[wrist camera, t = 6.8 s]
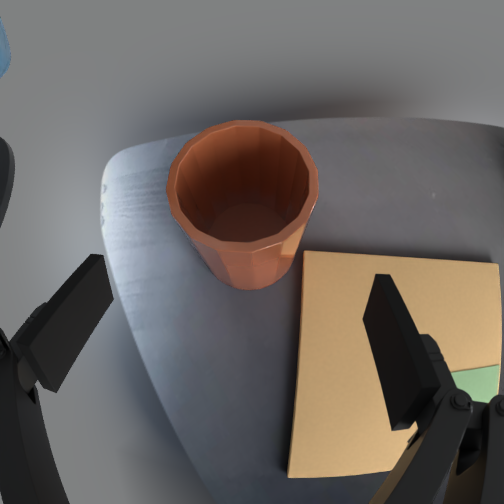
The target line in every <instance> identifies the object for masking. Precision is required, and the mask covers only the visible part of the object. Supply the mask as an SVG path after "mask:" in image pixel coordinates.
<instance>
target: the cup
mask: <svg viewBox="0 0 504 504" xmlns="http://www.w3.org/2000/svg"><path fill="white" fill-rule="evenodd" d="M166 193H167V197H168V202H169V206H170V210H171V214H172V216H173V218H174V219H175V221H176V222H177V223H178V225H179V226H180V228H181V229H182V231H183V232H184V234H185V235H186V237H187V238H188V240H189V241H190V243H191V244H192V246H193V247H194V248H195V250H196V251H197V253H198V254H199V256H200V257H201V259H202V260H203V261H204V263H205V264H206V266H207V267H208V268H209V269H210V270H211V272H212V273H213V274H214V275H215V276H216V278H217V279H219V280H220V281H222V282H223V283H225V284H227V285H229V286H231V287H234V288H237V289H243V290H255V289H260V288H264V287H267V286H269V285H271V284H273V283H275V282H276V281H278V280H279V279H280V278H281V277H282V276H283V275H284V274H285V273H286V272H287V271H288V270H289V268H290V266H291V264H292V262H293V260H294V257H295V255H296V253H297V251H298V248H299V246H300V243H301V241H302V238H303V235H304V233H305V230H306V228H307V225H308V223H309V220H310V217H311V215H312V212H313V210H314V207H315V204H316V202H317V199H318V170H317V168H316V166H315V164H314V162H313V160H312V158H311V156H310V154H309V152H308V150H307V148H306V147H305V146H304V145H303V144H302V143H301V142H300V141H299V140H297V139H296V138H295V137H294V136H293V135H291V134H290V133H289V132H288V131H286V130H285V129H282V128H279V127H277V126H274V125H271V124H269V123H266V122H263V121H253V120H251V121H250V120H232V121H229V122H225V123H222V124H218V125H215V126H212V127H209V128H207V129H205V130H204V131H202V132H201V133H199V134H198V135H196V136H195V137H194V138H192V139H191V140H189V141H188V142H187V143H186V144H185V145H184V146H183V148H182V149H181V151H180V152H179V153H178V155H177V156H176V158H175V159H174V161H173V162H172V164H171V167H170V172H169V176H168V181H167V186H166Z"/></svg>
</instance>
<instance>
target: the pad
mask: <svg viewBox="0 0 504 504" xmlns="http://www.w3.org/2000/svg"><path fill="white" fill-rule="evenodd" d="M499 366H500V365H495V366H490V367H484V368H478V369H472V370H465V371H458V372H451V374H452V377H453V379H454V381H455V384H456V386H457V388H459V389H462V390H464V391H465V392H467V393H468V394H469V395H470V397H471V398H472V400H473V401H479V402H486V403H489V402H490V400H491V399H492V398H493V397H494V396H496V395H497V389H498V379H499Z"/></svg>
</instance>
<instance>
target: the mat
mask: <svg viewBox="0 0 504 504" xmlns="http://www.w3.org/2000/svg"><path fill="white" fill-rule="evenodd" d="M375 274H390V275H391V277H392V279H393V281H394V283H395V285H396V286H397V288H398V290H399V292H400V294H401V296H402V298H403V300H404V302H405V304H406V306H407V308H408V310H409V313H410V315H411V317H412V319H413V321H414V323H415V325H416V327H417V330H418V332H419V334H429V335H430V336H431V337H432V338H433V339H434V340H435V341H436V342H437V344H438V346H439V348H440V350H441V353H442V354H443V357H444V361H446V363H447V365H448V368H449V370H450V372H458V371H465V370H472V369H478V368H484V367H490V366H495V365H501V342H502V315H501V292H500V278H499V268H498V263H485V262H471V261H457V260H442V259H428V258H413V257H398V256H383V255H368V254H353V253H337V252H322V251H306V250H305V251H304V252H303V269H302V295H301V315H300V333H299V349H298V364H297V377H296V390H295V401H294V413H293V423H292V433H291V442H290V452H289V460H288V469H287V477H288V478H312V477H334V476H347V475H358V474H367V473H375V472H382V471H389V470H392V469H393V468H394V466H395V465H396V463H397V461H398V460H399V458H400V457H401V455H402V453H403V452H404V450H405V448H406V447H407V445H408V442H407V441H408V440H409V439H410V437H411V436H412V435H413V434H414V433H415V432H416V430H417V429H418V428H417V424H416V421H415V422H414V423H413V425H412V426H411V427H410V428H409V429H405V430H398V431H391V426H390V422H389V417H388V413H387V409H386V404H385V400H384V396H383V392H382V388H381V384H380V380H379V376H378V373H377V369H376V365H375V361H374V358H373V354H372V351H371V347H370V343H369V340H368V337H367V333H366V330H365V326H364V323H363V320H362V318H363V315H364V312H365V308H366V305H367V302H368V298H369V295H370V292H371V288H372V285H373V281H374V277H375ZM499 378H500V366H499ZM498 388H499V379H498ZM497 395H498V389H497Z"/></svg>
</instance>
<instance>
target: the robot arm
mask: <svg viewBox="0 0 504 504" xmlns="http://www.w3.org/2000/svg"><path fill="white" fill-rule="evenodd" d="M10 60H11V53H10V47H9V43H8V39H7V36H6V33H5V30H4V26H3V23H2V20H1V18H0V78H1V77H2V76H3V75H4V74H5V73H6V71H7V70H8V68H9V65H10ZM113 300H114V298H113V294H112V290H111V286H110V282H109V278H108V274H107V269H106V265H105V261H104V256H103V255H99V254H90V255H89V257H88V258H87V259H86V260H85V261H84V262H83V263H82V264H81V265H80V266H79V267H78V268H77V270H75V272H74V273H73V274H72V275H71V276H70V277H69V278H68V279H67V280H66V281H65V283H64V284H63V285H62V286H61V287H60V288H59V290H58V291H57V292H56V293H55V294H54V295H53V296H52V298H51V299H50V300H49V301H48V302H47V303H43V304H42V305H40V306H39V307H37V308H36V309H35V310H34V311H33V313H32V314H31V315H30V317H28V319H27V320H26V321H25V323H24V324H23V325H22V326H21V327H20V329H19V330H18V331H17V332H16V334H15V335H14V336H13V337H12V339H11V340H10V341H8V339H7V337H6V336H5V334H4V332H3V330H2V329H1V328H0V492H1V496H2V500H3V504H70V503H69V501H68V498H67V496H66V493H65V491H64V488H63V485H62V482H61V479H60V477H59V474H58V471H57V468H56V464H55V461H54V458H53V455H52V451H51V448H50V444H49V440H48V437H47V433H46V429H45V424H44V420H43V416H42V411H41V406H40V401H39V396H38V390H37V388H36V386H35V383H36V381H37V380H39V382H40V384H41V385H42V387H43V388H44V389H48V390H50V391H53V392H55V393H57V391H58V390H59V388H60V386H61V384H62V382H63V381H64V379H65V377H66V375H67V374H68V372H69V370H70V368H71V367H72V365H73V363H74V362H75V360H76V358H77V357H78V355H79V353H80V352H81V350H82V348H83V347H84V345H85V343H86V342H87V340H88V338H89V337H90V335H91V334H92V332H93V330H94V329H95V327H96V326H97V324H98V323H99V321H100V320H101V318H102V316H103V315H104V313H105V312H106V310H107V309H108V307H109V306H110V304H111V303H112V301H113ZM362 320H363V323H364V326H365V330H366V333H367V337H368V340H369V343H370V347H371V351H372V354H373V358H374V361H375V365H376V369H377V373H378V376H379V380H380V384H381V388H382V392H383V396H384V400H385V404H386V409H387V413H388V417H389V422H390V426H391V431H398V430H405V429H409V428H410V427H411V426H412V425H413V423H414V422H415V421H416V424H417V428H418V429H417V430H416V432H415V433H414V434H413V435H412V436H411V437H410V439H409V440H408V441H407V442H408V445H407V447H406V448H405V450H404V452H403V453H402V455H401V457H400V458H399V460H398V461H397V463H396V465H395V466H394V468H393V469H392V471H391V472H390V474H389V475H388V477H387V478H386V480H385V481H384V483H383V484H382V485H381V487H380V488H379V490H378V491H377V492H376V494H375V495H374V497H373V498H372V499H371V501H370V502H369V503H368V504H432V503H433V501H434V499H435V497H436V496H437V494H438V492H439V490H440V488H441V486H442V484H443V482H444V480H445V478H446V476H447V474H448V472H449V469H450V467H451V465H452V467H451V471H450V476H449V481H448V485H447V489H446V493H445V497H444V501H443V504H504V395H496V396H494V397H493V398H492V399H491V400H490V402H489V403H486V402H479V401H473V400H472V398H471V397H470V395H469V394H468V393H467V392H465V391H464V390H462V389H459V388H457V386H456V384H455V381H454V379H453V377H452V374H451V372H450V370H449V368H448V365H447V363H446V361H444V357H443V354H442V353H441V350H440V348H439V346H438V344H437V342H436V341H435V340H434V339H433V338H432V337H431V336H430V335H429V334H419V332H418V330H417V327H416V325H415V323H414V321H413V319H412V317H411V315H410V313H409V310H408V308H407V306H406V304H405V302H404V300H403V298H402V296H401V294H400V292H399V290H398V288H397V286H396V285H395V283H394V281H393V279H392V277H391V275H390V274H375V277H374V281H373V285H372V288H371V292H370V295H369V298H368V302H367V305H366V308H365V312H364V315H363V318H362Z"/></svg>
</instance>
